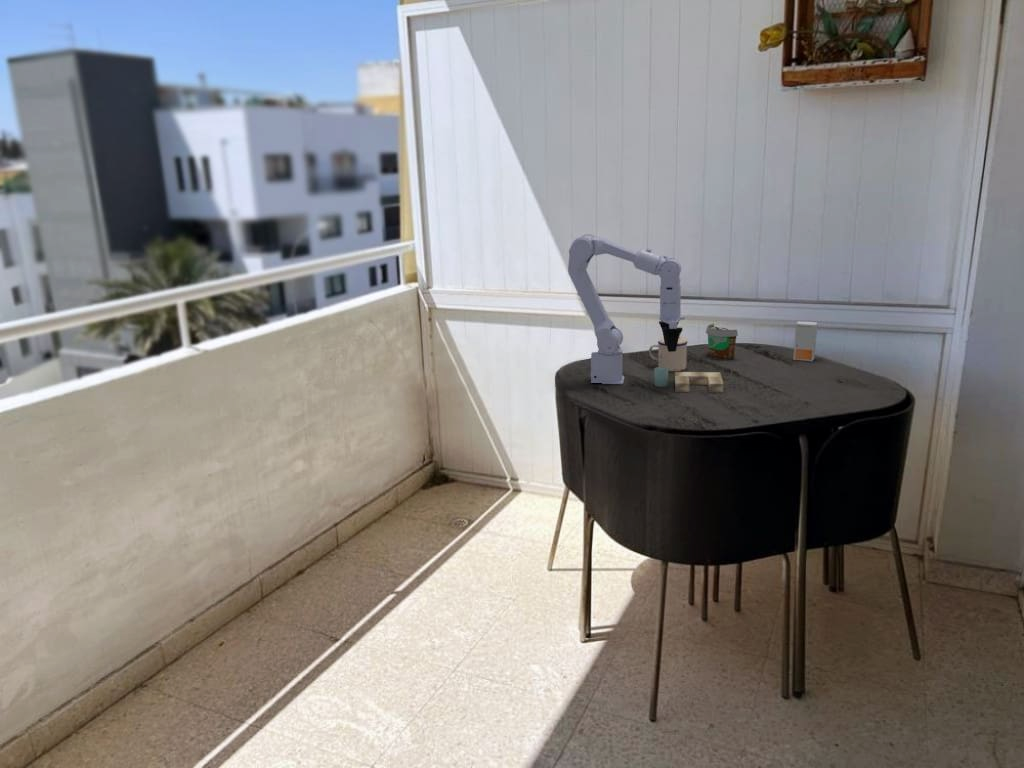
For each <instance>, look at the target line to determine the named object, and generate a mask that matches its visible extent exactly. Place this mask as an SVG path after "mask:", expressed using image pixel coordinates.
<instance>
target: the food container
mask: <svg viewBox="0 0 1024 768" xmlns="http://www.w3.org/2000/svg"><path fill="white" fill-rule="evenodd" d="M705 333H706V335H707V344H708V348H707V349H708V356H710V357H709V358H711V357H712V358H711V359H714V358H716V359H715V360H722V359H728V360H734V358H735V351H736V343H737V337H738V335H739V334H738V329H728V328H726V327H717V326H715V323H711V324H708V325H707V327H706V330H705Z"/></svg>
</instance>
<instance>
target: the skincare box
mask: <svg viewBox="0 0 1024 768" xmlns="http://www.w3.org/2000/svg"><path fill="white" fill-rule="evenodd" d="M818 324H819V323H818V322H814V321H799V320H798V321H797V322H796V323H795V335H794V336H795V337H794V346H793V360H794V361H803V362H804V361H805V362H813V361H814V360H815V357H816V348H817V347H816V346H817V345H816V344H817V333H818Z"/></svg>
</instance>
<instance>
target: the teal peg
mask: <svg viewBox="0 0 1024 768" xmlns="http://www.w3.org/2000/svg"><path fill="white" fill-rule="evenodd" d="M653 373H654V374H653V380H654V381H653V385H655V387H656V386H657V387H658V388H666V387H669V371H668V368H666V367H658V366H656V367H654V368H653Z"/></svg>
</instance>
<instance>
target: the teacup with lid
mask: <svg viewBox="0 0 1024 768" xmlns="http://www.w3.org/2000/svg"><path fill="white" fill-rule="evenodd" d="M688 343H689V342H688V340H687V339H686V338H684V337H682V336H681V335H680V336H679V339H678V344H677V348H676V351H675V352H668V349H667V346H666V345H665V342H664V337H660V338H659V339H658V341H657V343H655V344H652V345H650V347H648V348H649V349H648V354H649V356H650V357H651V359H653V360H655V361H658V362H657V367H666V368H668V372H682V371H684V370H686V368H687V347H688ZM653 348H658V355H657V356H655V355H654V354H653V352H652V351H653Z"/></svg>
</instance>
